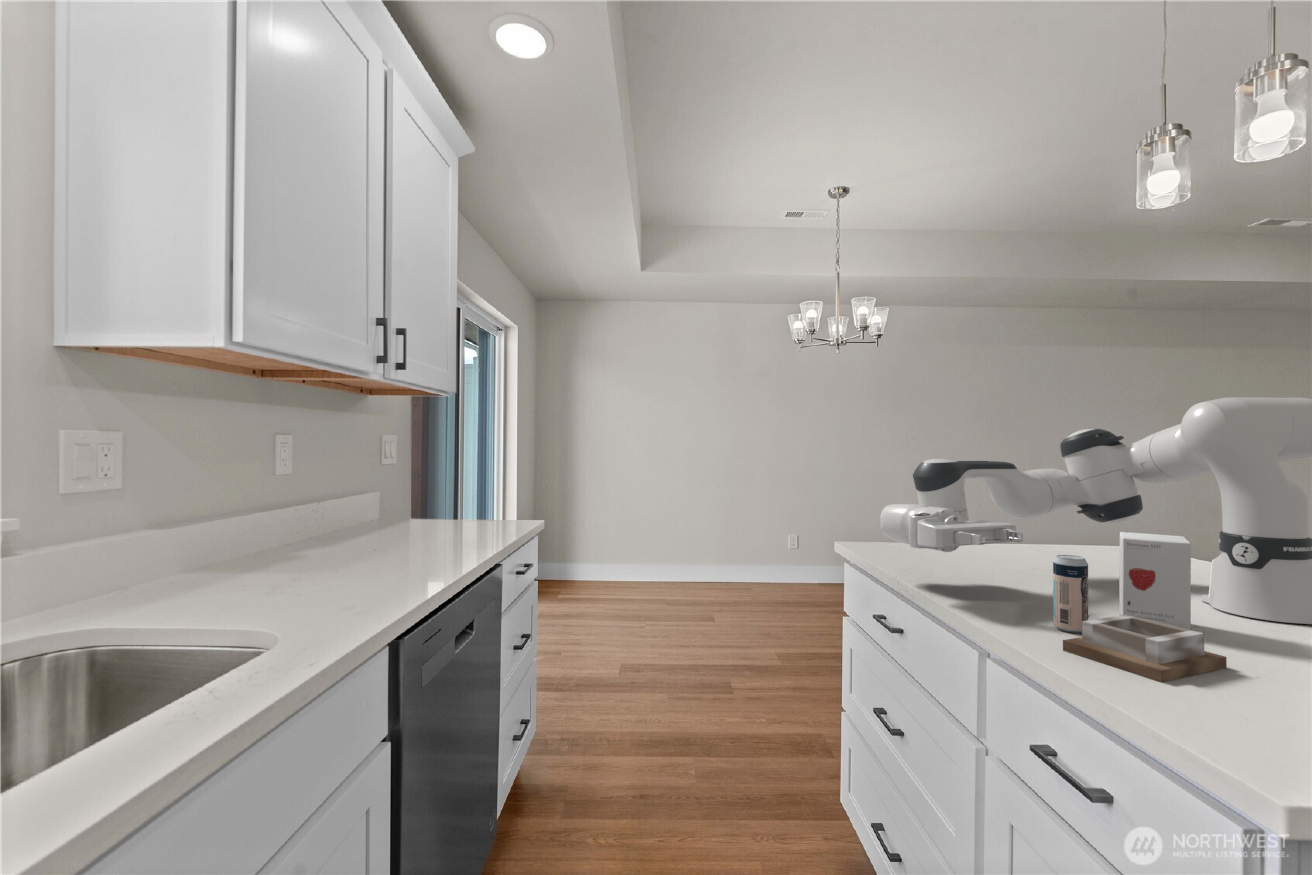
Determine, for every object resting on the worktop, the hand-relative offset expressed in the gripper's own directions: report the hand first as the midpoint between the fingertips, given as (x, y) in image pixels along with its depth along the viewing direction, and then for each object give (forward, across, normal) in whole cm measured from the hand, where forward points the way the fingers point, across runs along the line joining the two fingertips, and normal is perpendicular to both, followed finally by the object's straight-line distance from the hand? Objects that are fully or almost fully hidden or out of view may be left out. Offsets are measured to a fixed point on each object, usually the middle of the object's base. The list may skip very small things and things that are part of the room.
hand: (1001, 538), depth 113 cm
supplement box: (+15, -17, -13) cm, 26 cm away
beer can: (+12, -1, -13) cm, 18 cm away
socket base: (+25, +3, -13) cm, 29 cm away
